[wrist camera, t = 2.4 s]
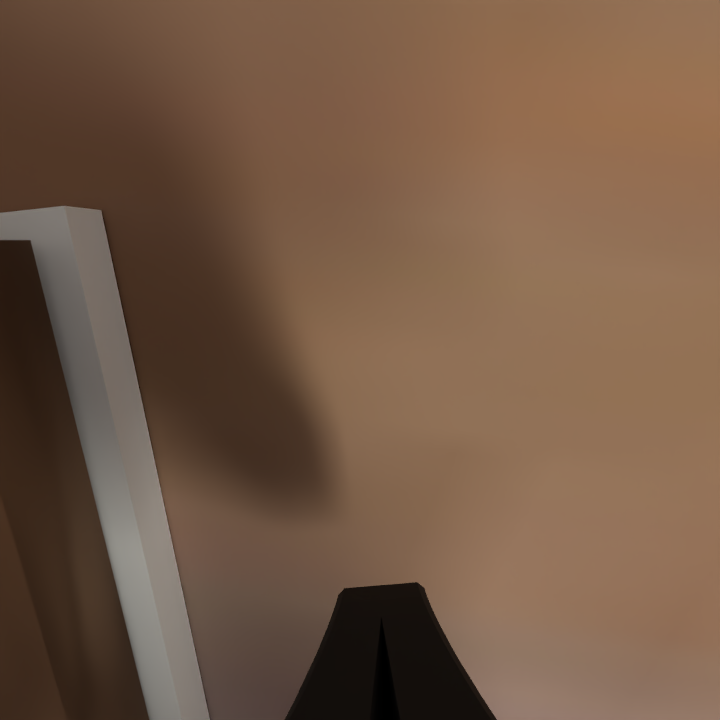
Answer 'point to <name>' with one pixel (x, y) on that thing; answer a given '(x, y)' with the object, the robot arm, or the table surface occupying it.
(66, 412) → the brown rectangular box
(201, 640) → the table surface
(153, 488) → the board
